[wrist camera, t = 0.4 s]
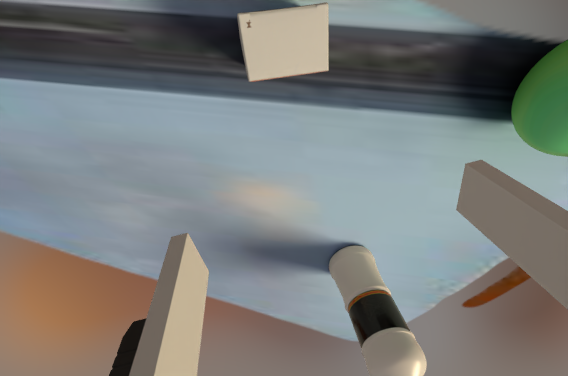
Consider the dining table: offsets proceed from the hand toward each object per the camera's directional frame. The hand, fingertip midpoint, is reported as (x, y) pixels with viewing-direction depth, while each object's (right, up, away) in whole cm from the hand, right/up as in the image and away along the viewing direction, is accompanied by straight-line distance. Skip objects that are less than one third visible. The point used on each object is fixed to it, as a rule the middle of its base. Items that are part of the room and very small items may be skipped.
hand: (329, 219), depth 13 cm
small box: (-3, +20, +20) cm, 29 cm away
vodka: (+11, -13, +43) cm, 47 cm away
